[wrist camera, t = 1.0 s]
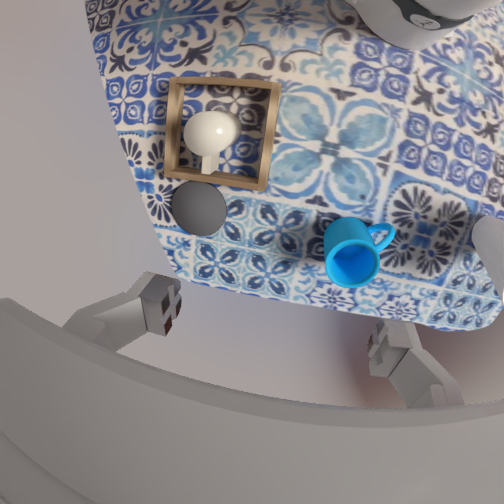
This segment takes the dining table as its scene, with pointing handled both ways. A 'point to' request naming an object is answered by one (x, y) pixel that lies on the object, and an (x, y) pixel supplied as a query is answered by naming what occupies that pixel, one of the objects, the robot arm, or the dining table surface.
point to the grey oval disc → (199, 208)
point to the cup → (491, 249)
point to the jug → (211, 136)
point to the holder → (174, 133)
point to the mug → (353, 251)
